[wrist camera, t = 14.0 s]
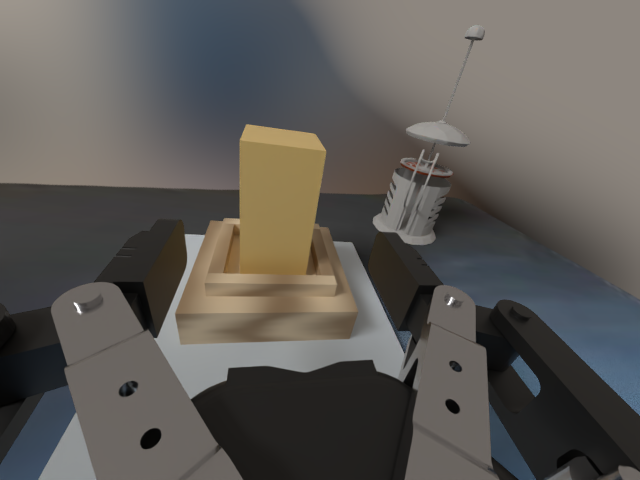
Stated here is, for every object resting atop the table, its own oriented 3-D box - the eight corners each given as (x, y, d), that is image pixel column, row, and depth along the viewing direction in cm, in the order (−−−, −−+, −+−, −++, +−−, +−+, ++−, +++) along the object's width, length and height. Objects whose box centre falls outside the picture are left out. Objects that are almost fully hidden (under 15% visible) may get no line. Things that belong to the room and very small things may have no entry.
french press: (437, 226, 44) (520, 39, 31) (432, 259, 35) (547, 12, 22) (380, 207, 47) (434, 29, 34) (361, 234, 37) (425, 2, 24)
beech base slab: (180, 344, 18) (172, 299, 16) (212, 245, 28) (210, 209, 26) (349, 339, 21) (362, 299, 18) (323, 250, 30) (329, 218, 28)
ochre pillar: (239, 277, 20) (239, 140, 15) (245, 241, 24) (246, 124, 19) (305, 278, 21) (326, 151, 16) (299, 243, 25) (314, 133, 20)
